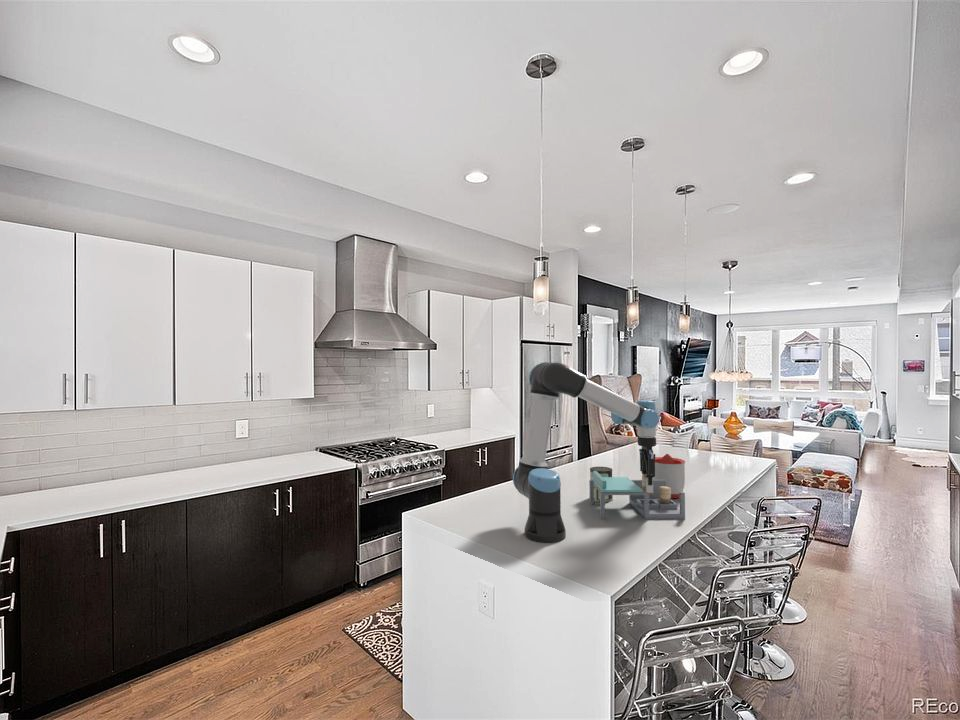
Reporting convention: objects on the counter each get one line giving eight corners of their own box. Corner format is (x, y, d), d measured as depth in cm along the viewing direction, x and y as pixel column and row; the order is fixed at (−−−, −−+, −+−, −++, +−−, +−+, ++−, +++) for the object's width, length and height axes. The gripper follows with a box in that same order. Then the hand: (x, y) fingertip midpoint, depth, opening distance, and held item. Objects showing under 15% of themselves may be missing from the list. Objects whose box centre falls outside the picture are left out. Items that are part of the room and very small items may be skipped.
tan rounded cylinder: (644, 496, 199) (644, 477, 199) (640, 493, 203) (640, 475, 203) (655, 496, 199) (654, 477, 199) (651, 493, 203) (650, 474, 203)
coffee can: (603, 494, 227) (603, 465, 227) (617, 500, 217) (617, 469, 217) (585, 497, 223) (585, 467, 223) (598, 503, 213) (598, 472, 214)
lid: (642, 492, 191) (642, 482, 191) (603, 492, 191) (603, 482, 191) (626, 479, 213) (626, 469, 213) (591, 479, 213) (591, 470, 213)
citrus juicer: (643, 490, 233) (642, 450, 233) (679, 491, 232) (678, 450, 232) (651, 499, 218) (651, 456, 218) (690, 500, 216) (690, 457, 216)
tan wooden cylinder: (672, 508, 198) (672, 489, 199) (661, 508, 199) (661, 489, 199) (668, 504, 203) (668, 486, 203) (658, 504, 203) (657, 486, 203)
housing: (685, 518, 191) (684, 492, 191) (601, 519, 191) (600, 493, 191) (664, 502, 213) (664, 479, 213) (589, 503, 213) (589, 480, 213)
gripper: (662, 439, 193) (664, 496, 192) (648, 433, 210) (649, 485, 209) (644, 439, 193) (645, 496, 193) (631, 433, 210) (632, 485, 210)
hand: (647, 490), depth 201 cm, fingers closed on tan rounded cylinder, 4 cm apart
